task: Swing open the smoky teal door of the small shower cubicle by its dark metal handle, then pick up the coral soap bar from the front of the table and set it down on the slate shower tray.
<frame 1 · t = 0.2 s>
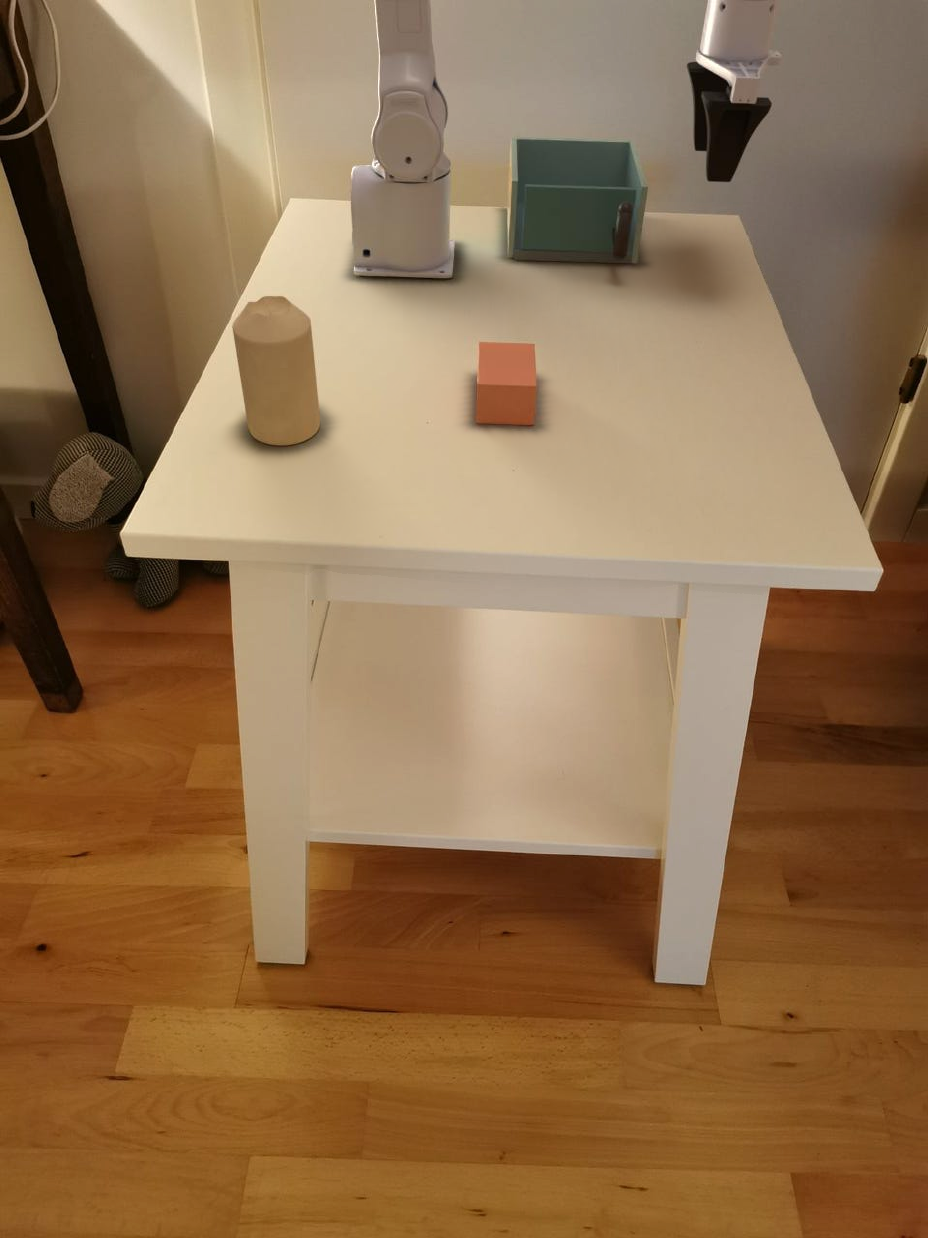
hand: (711, 164, 89), 10 cm above the table, tool pointing down, fingers open, 7 cm apart
shower door: (579, 228, 92), point 4 cm above the table, hinge at 0.0°
shower: (513, 259, 97), on the table
candle: (285, 428, 75), on the table
soap: (504, 402, 78), on the table
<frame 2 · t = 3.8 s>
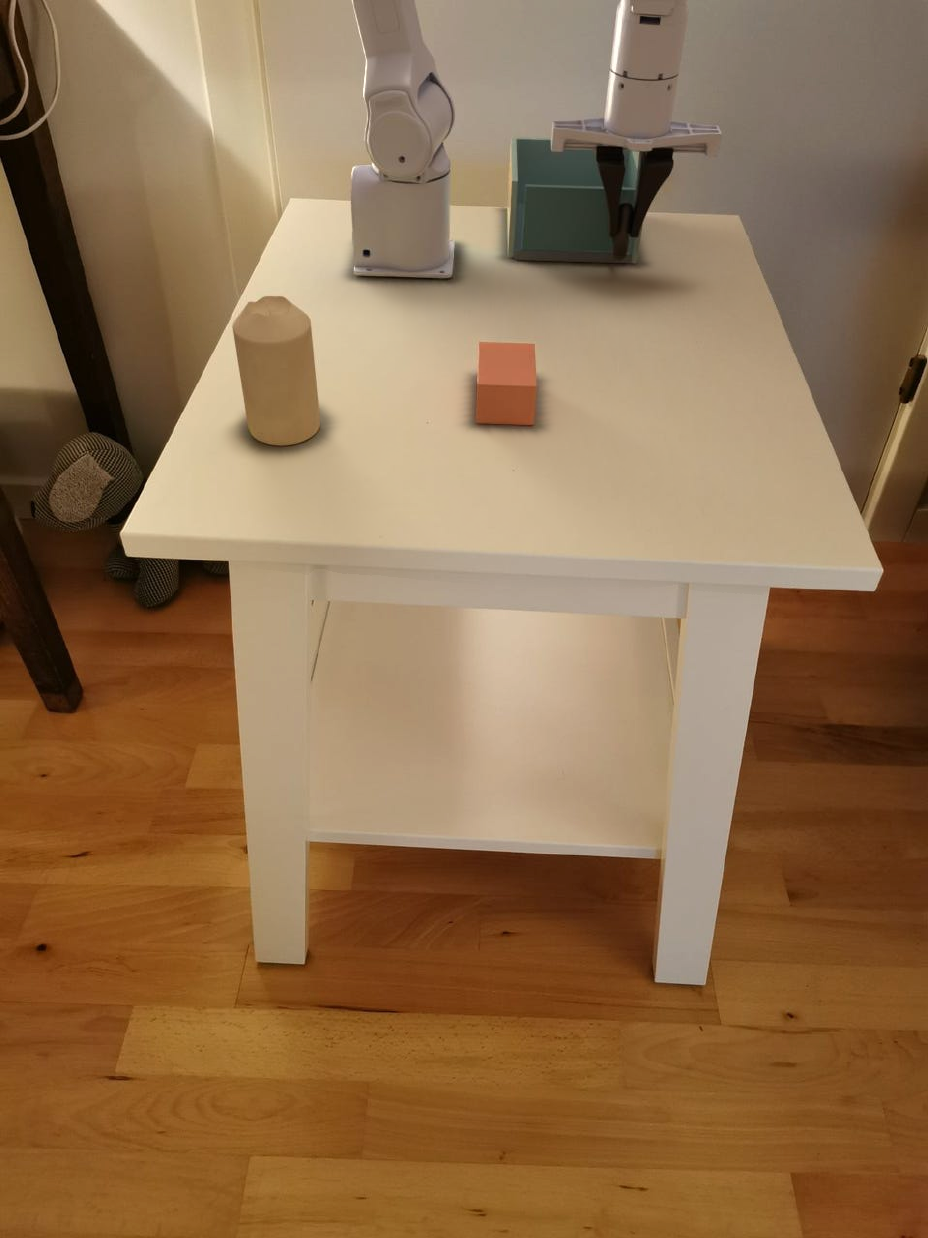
hand: (622, 232, 90), 5 cm above the table, tool pointing down, fingers closed on shower door
shower door: (579, 228, 92), point 4 cm above the table, hinge at 0.0°, touching gripper
everything else where it was.
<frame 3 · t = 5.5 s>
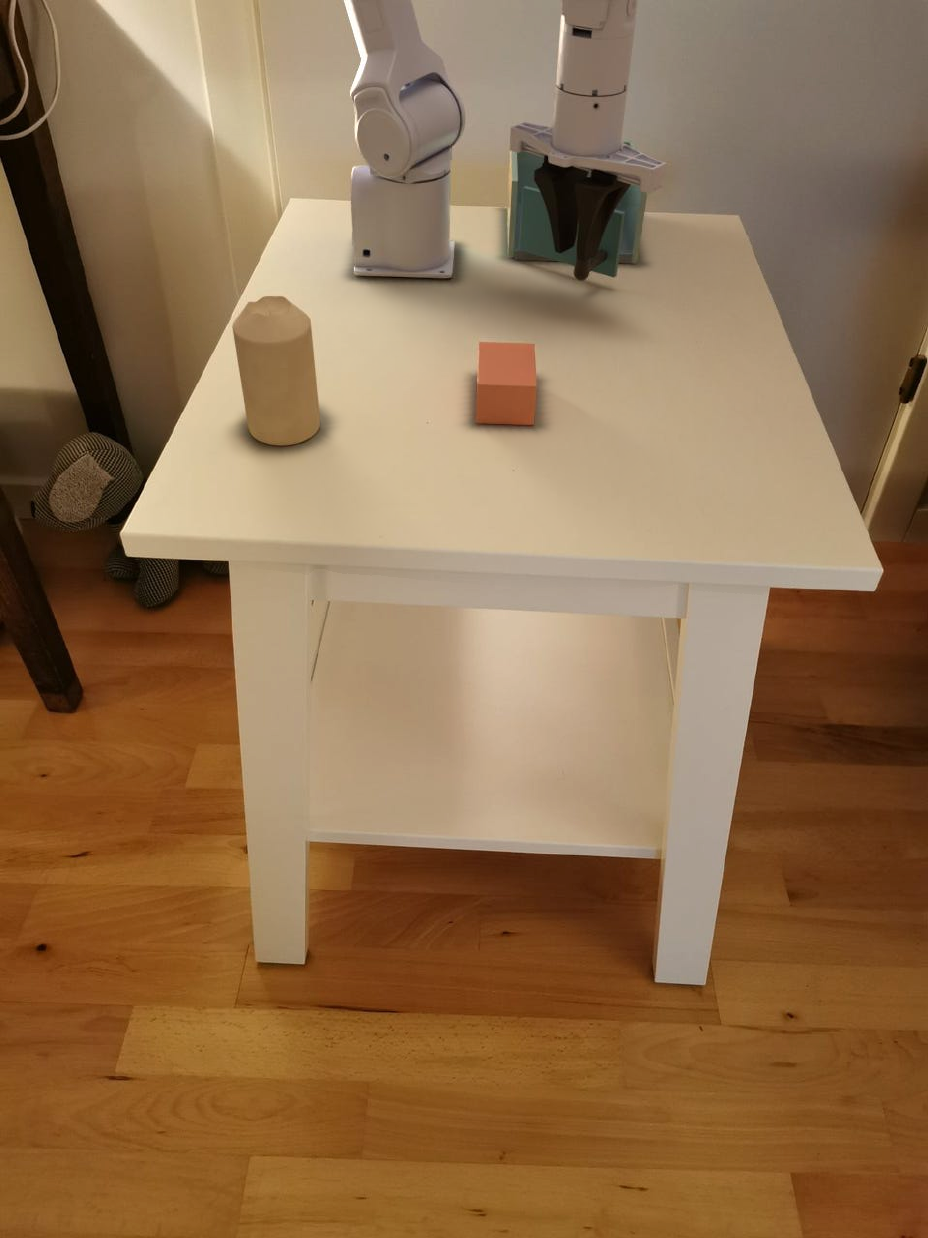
hand: (575, 253, 87), 5 cm above the table, tool pointing down, fingers closed
shower door: (557, 240, 90), point 4 cm above the table, hinge at 32.1°, touching gripper
everything else where it was.
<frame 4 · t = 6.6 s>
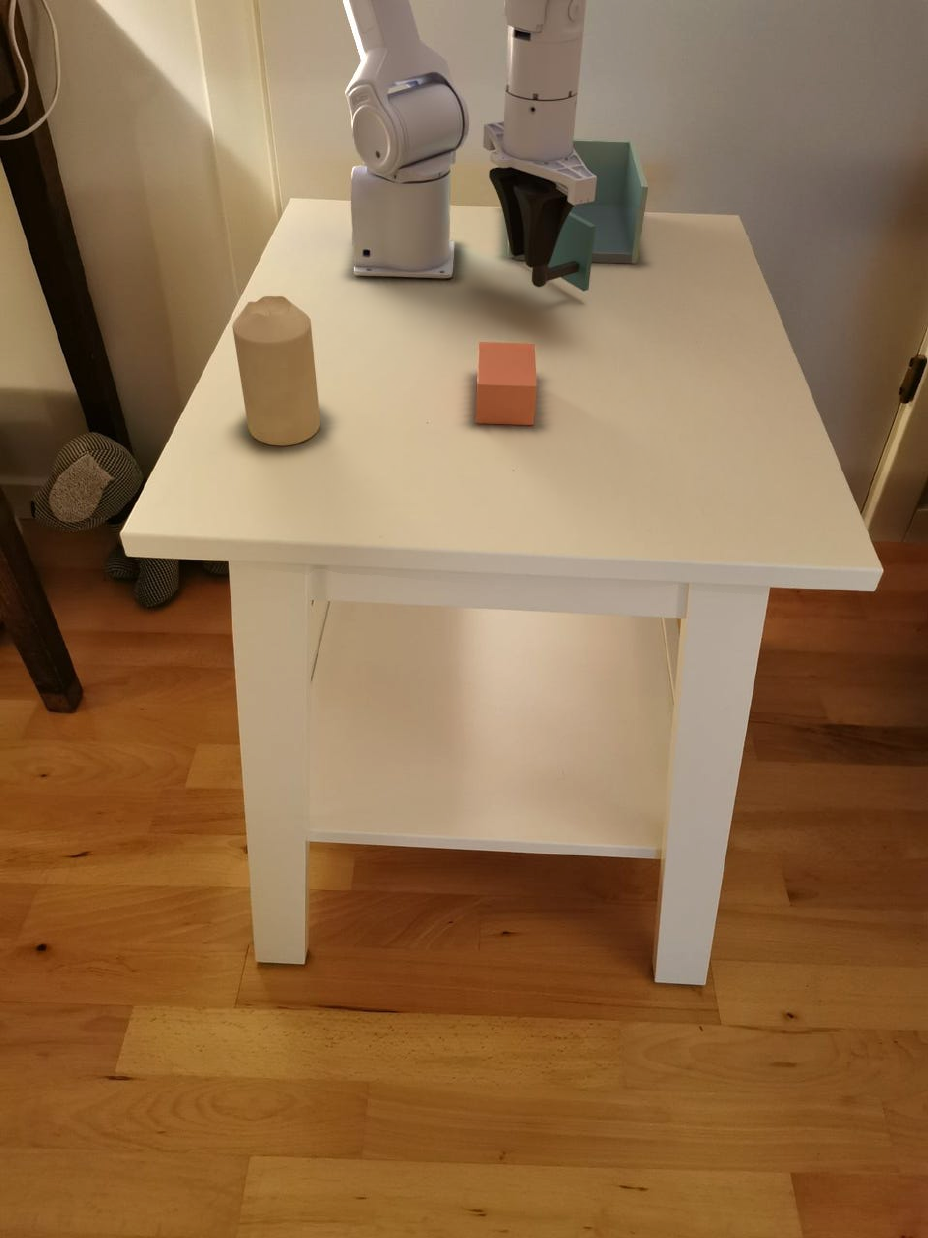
hand: (530, 258, 86), 5 cm above the table, tool pointing down, fingers closed
shower door: (532, 244, 89), point 4 cm above the table, hinge at 54.5°, touching gripper
everything else where it was.
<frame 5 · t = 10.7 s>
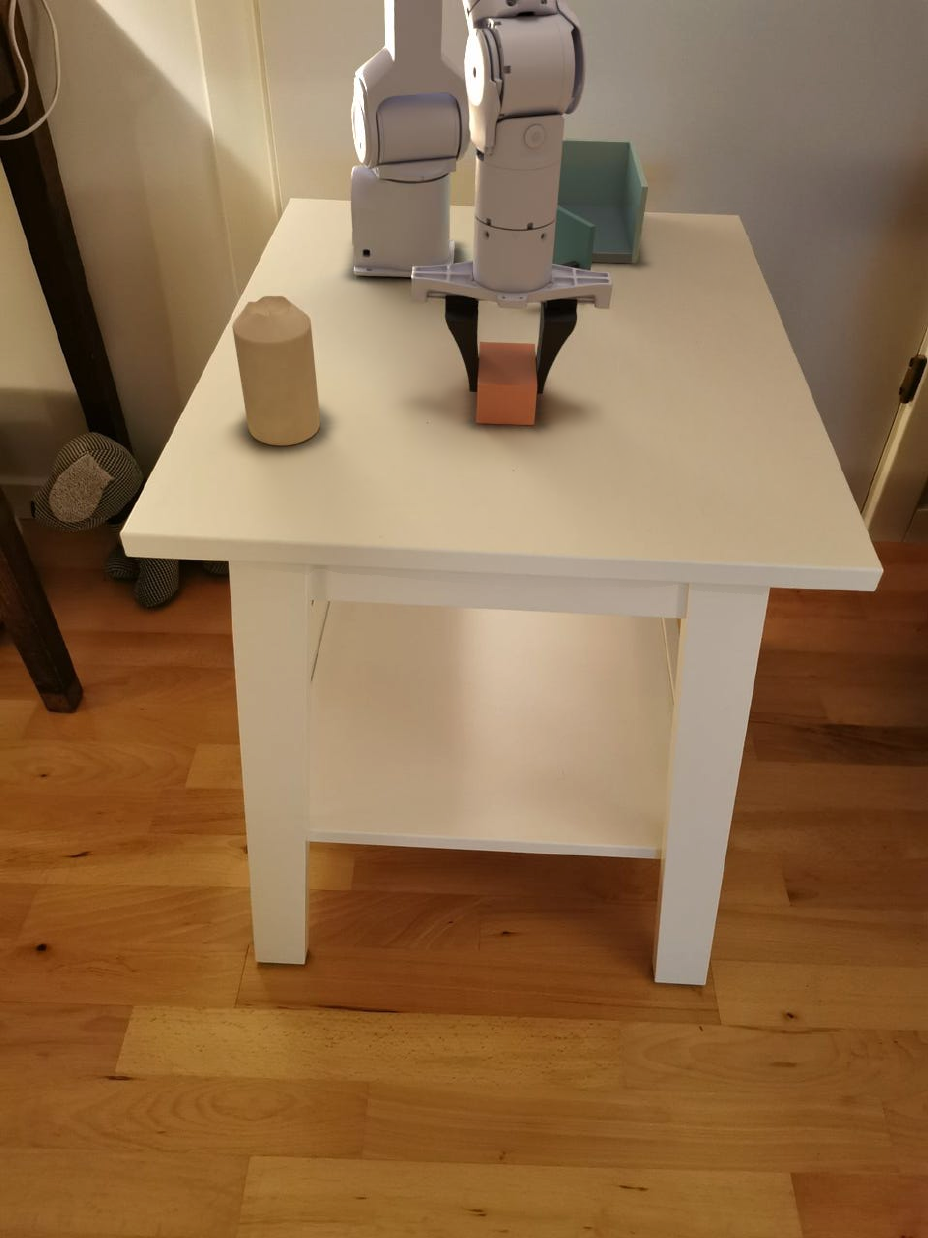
hand: (505, 386, 77), 1 cm above the table, tool pointing down, fingers closed on soap, 4 cm apart
shower door: (532, 244, 89), point 4 cm above the table, hinge at 54.6°
soap: (505, 402, 78), on the table, touching gripper
everything else where it was.
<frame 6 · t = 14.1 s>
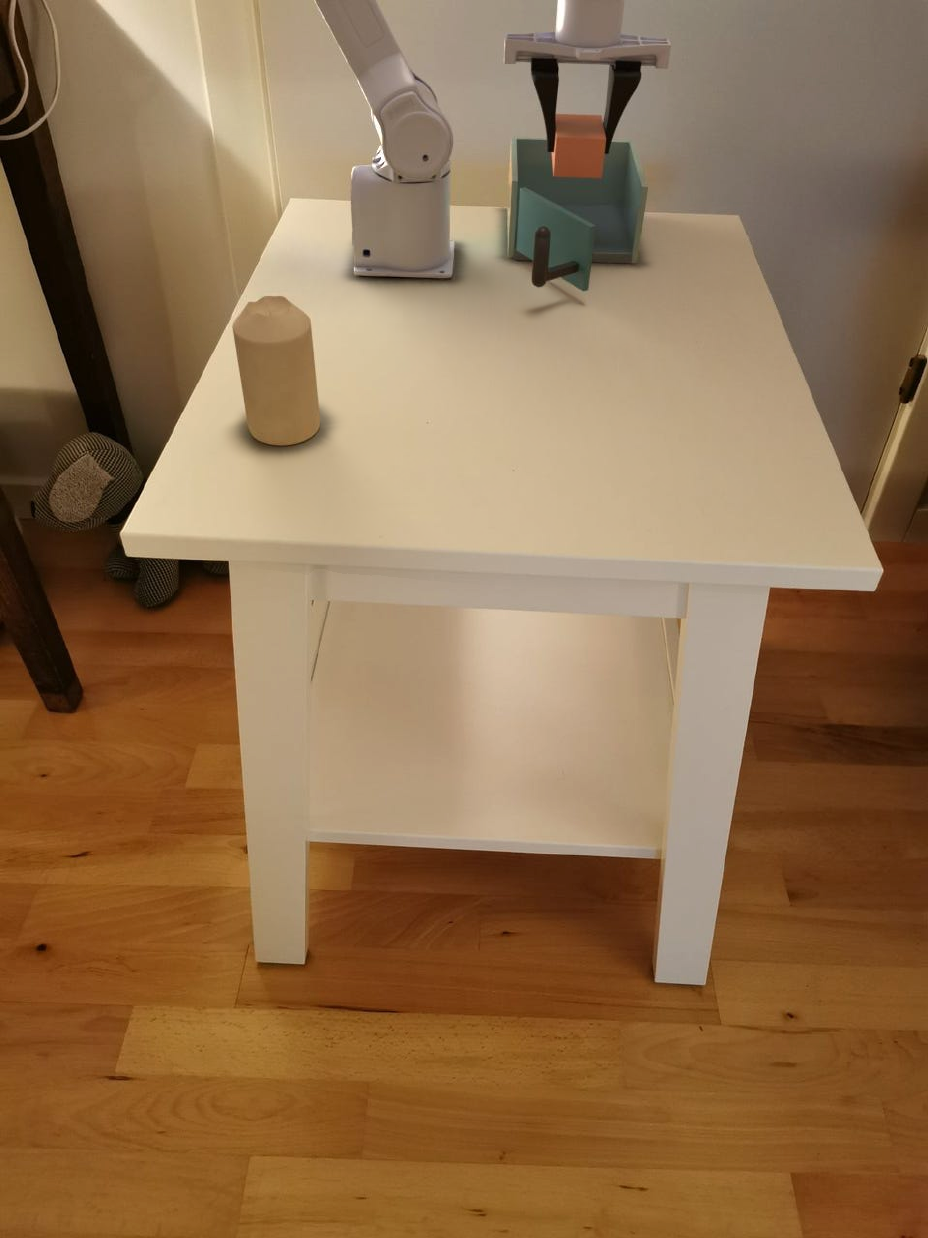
hand: (577, 149, 92), 10 cm above the table, tool pointing down, fingers closed on soap, 4 cm apart
soap: (575, 164, 93), point 9 cm above the table, touching gripper
everything else where it was.
when the fingers open (2 cm above the table, at t = 17.9 s): soap stays where it is, resting on shower.
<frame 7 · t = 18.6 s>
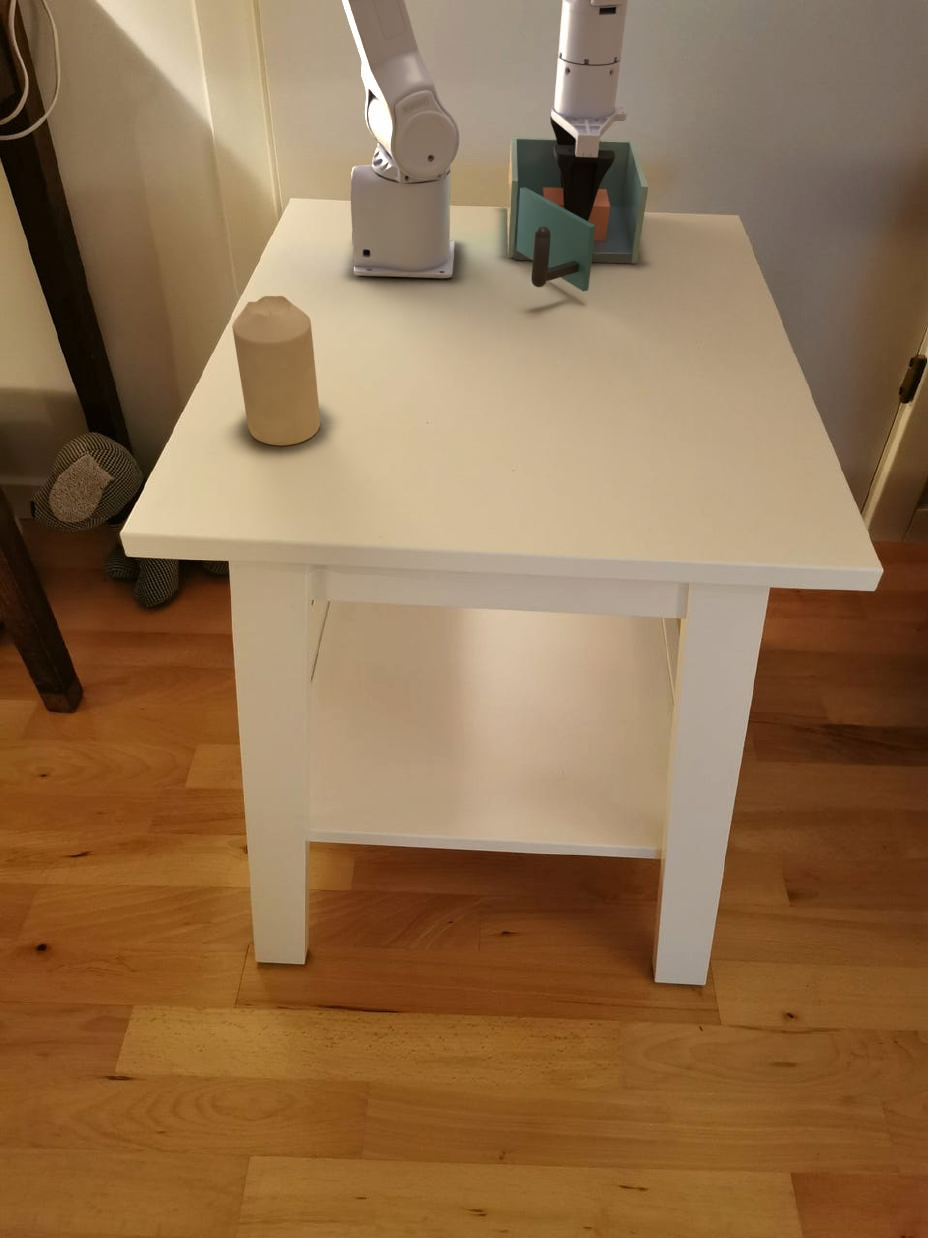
hand: (574, 207, 98), 3 cm above the table, tool pointing down, fingers open, 7 cm apart
soap: (572, 231, 100), point 1 cm above the table, touching shower
everything else where it was.
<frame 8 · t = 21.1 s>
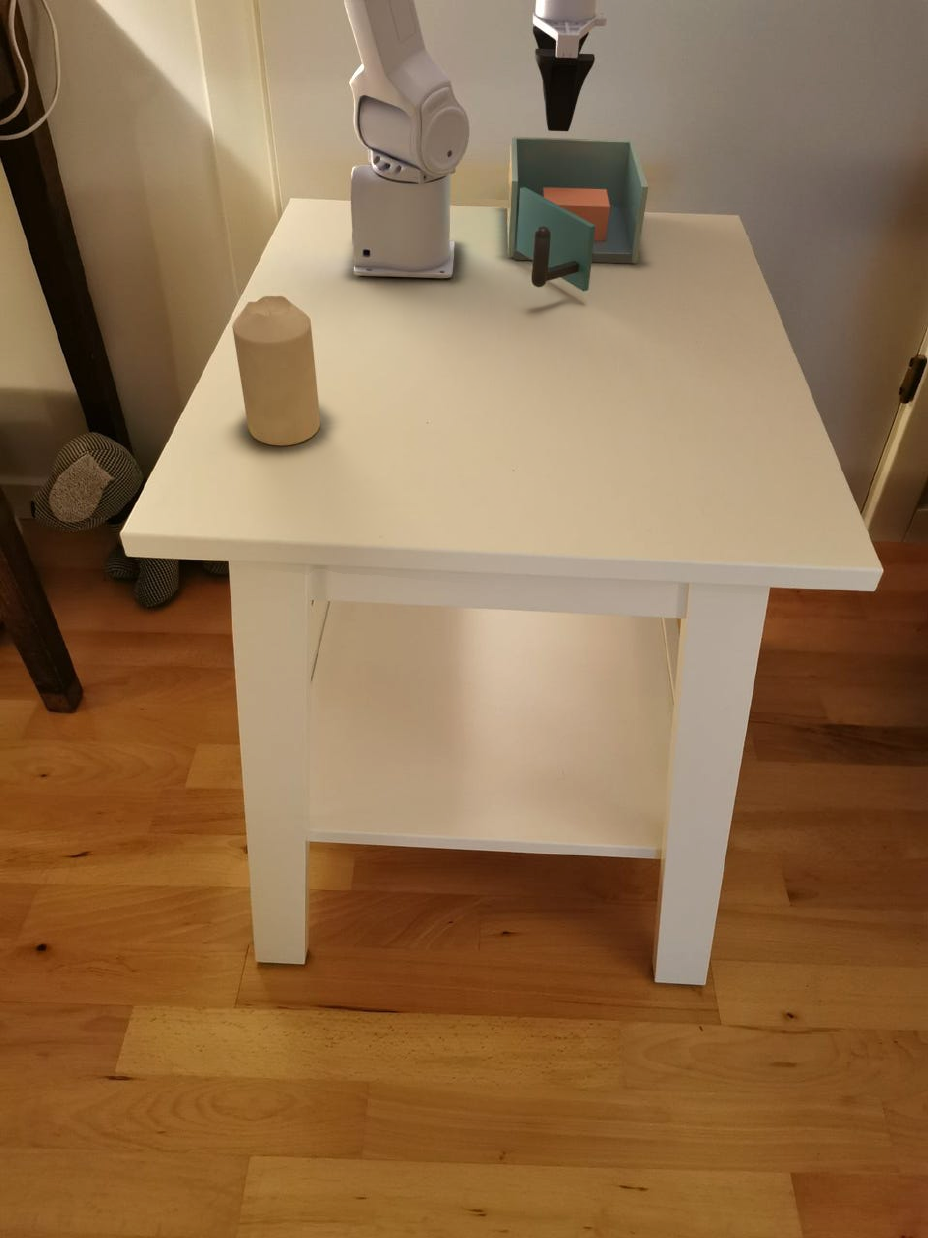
hand: (556, 117, 100), 9 cm above the table, tool pointing down, fingers open, 7 cm apart
nothing on the table moved.
at the end: shower door at +55° (first picture: +0°); soap inside the target area on the shower (1.3 cm from its centre), point 1.0 cm above the shower's base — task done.
